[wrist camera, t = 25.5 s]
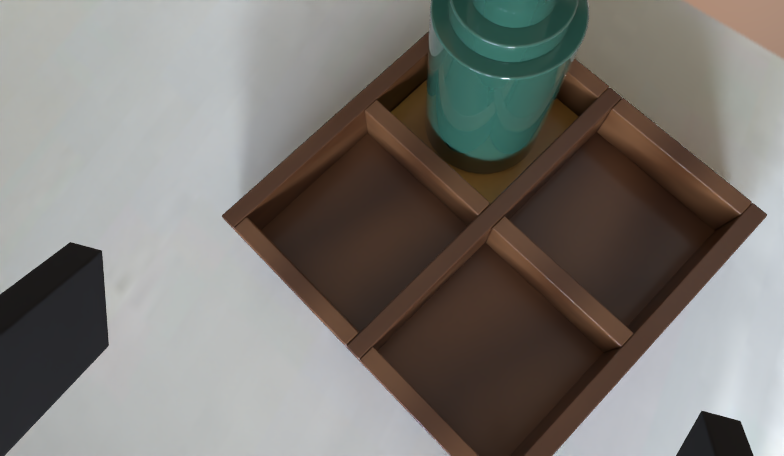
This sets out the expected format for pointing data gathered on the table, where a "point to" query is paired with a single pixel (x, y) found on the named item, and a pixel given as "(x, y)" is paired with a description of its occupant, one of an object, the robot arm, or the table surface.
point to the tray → (494, 255)
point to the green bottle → (496, 76)
